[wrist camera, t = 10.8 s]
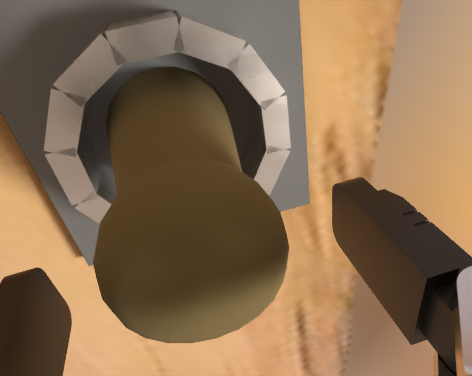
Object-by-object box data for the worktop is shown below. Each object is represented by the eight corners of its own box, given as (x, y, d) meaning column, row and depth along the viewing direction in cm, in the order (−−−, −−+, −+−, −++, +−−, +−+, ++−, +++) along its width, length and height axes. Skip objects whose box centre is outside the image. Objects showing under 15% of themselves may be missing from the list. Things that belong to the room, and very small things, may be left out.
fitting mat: (-53, 1, 13) (-63, 2, 13) (288, -65, 15) (295, -67, 14) (90, 256, 21) (88, 265, 20) (304, 196, 23) (309, 203, 22)
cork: (200, 193, 20) (252, 383, 11) (89, 160, 17) (33, 370, 8) (249, 97, 17) (370, 233, 8) (131, 42, 15) (117, 150, 6)
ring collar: (13, 43, 14) (-9, 55, 12) (259, -8, 15) (278, -6, 13) (108, 235, 20) (104, 265, 18) (280, 187, 21) (296, 211, 19)
